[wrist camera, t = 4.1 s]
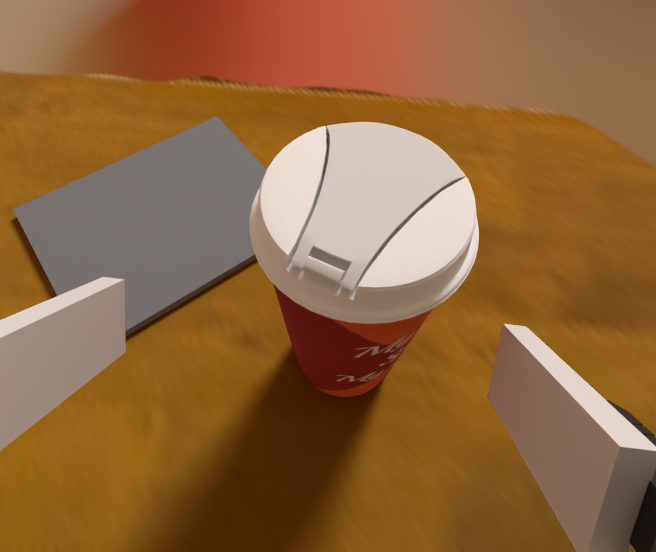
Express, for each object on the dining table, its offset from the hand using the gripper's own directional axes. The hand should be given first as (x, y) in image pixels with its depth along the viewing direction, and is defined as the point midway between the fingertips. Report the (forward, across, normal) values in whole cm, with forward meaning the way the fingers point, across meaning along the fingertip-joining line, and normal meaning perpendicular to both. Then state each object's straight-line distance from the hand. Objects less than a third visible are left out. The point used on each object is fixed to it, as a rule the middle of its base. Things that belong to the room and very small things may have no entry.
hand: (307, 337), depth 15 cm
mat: (+16, -12, +1) cm, 20 cm away
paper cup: (+10, +2, -5) cm, 11 cm away
